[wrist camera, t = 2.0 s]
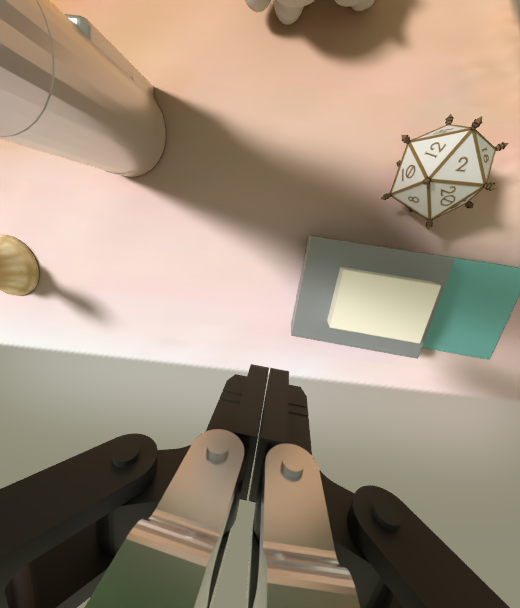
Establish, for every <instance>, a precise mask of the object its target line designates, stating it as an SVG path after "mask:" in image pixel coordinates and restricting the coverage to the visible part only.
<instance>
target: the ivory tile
mask: <svg viewBox="0 0 520 608" xmlns="http://www.w3.org/2000/svg"><path fill="white" fill-rule="evenodd" d="M440 288H441V285H438V284H436V283H433V282H431V281H426V280H419V279H413V278H407V277H401V276H395V275H388V274H382V273H376V272H370V271H364V270H357V269H351V268H345V267H340V269H339V274H338V278H337V282H336V286H335V290H334V294H333V299H332V303H331V307H330V311H329V315H328V319H327V322H328V324H329V327H330V328H336V329H341V330H347V331H352V332H358V333H364V334H369V335H375V336H380V337H386V338H392V339H397V340H403V341H408V342H414V343H420V342H421V339H422V337H423V334H424V331H425V328H426V326H427V323H428V320H429V318H430V315H431V312H432V309H433V307H434V304H435V301H436V299H437V296H438V293H439V290H440Z"/></svg>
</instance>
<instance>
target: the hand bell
mask: <svg viewBox="0 0 520 608" xmlns="http://www.w3.org/2000/svg"><path fill="white" fill-rule="evenodd" d="M38 279H39V269H38V264H37V262H36V259H35V257H34V256H33V254H32V252H31V251H30V250H29V248H28V247H27V246H26V245H25V244H24V243H22V242H21V241H20V240H18V239H16V238H14V237H12V236H8V235H0V290H1V291H3V292H5V293H8V294H11V295H19V296H21V295H26V294H28V293H30V292H31V291H33V290H34V289H35V287H36V285H37V283H38Z"/></svg>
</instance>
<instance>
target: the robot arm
mask: <svg viewBox="0 0 520 608" xmlns="http://www.w3.org/2000/svg"><path fill="white" fill-rule="evenodd" d="M0 139H2V140H6V141H9V142H12V143H16V144H19V145H22V146H26V147H29V148H32V149H36V150H39V151H42V152H46V153H49V154H52V155H56V156H59V157H62V158H66V159H69V160H72V161H75V162H79V163H82V164H85V165H89V166H92V167H95V168H99V169H102V170H105V171H108V172H111V173H115V174H119V175H123V176H128V177H135V176H140V175H143V174H145V173H147V172H149V171H150V170H151V169H152V168H153V167H154V166H155V165H156V164H157V163H158V161H159V160H160V158H161V155H162V153H163V151H164V146H165V141H166V129H165V123H164V119H163V116H162V113H161V110H160V108H159V107H158V105H157V103H156V101H155V99H154V88H153V86H152V84H151V83H150V82H149V81H148V80H147V79H146V78H145V77H144V76H143V75H142V74H141V73H140V72H139V71H138V70H137V69H136V68H135V67H134V66H133V65H132V64H131V63H130V62H129V61H128V60H127V59H126V58H125V57H124V56H123V55H122V54H121V53H120V52H119V51H118V50H117V49H116V48H115V47H114V46H113V45H112V44H111V43H110V42H109V41H108V40H107V39H106V38H105V37H104V36H103V35H102V34H101V33H100V32H99V31H98V30H97V29H96V28H95V27H94V26H93V25H92V24H91V23H90V22H89V21H88V20H87V19H86V18H84V17H81V16H77V15H67V14H63V13H62V12H61V11H60V10H59V9H58V8H57V7H56V6H55V5H54V4H52V3H51V2H50V1H49V0H0ZM268 370H269V368H268V367H263V366H258V365H252V364H251V366H250V369H249V373H248V376H247V377H246V376H241V375H234V376H233V377H231V378H230V379H229V380H228V381H227V382H226V384H225V387H224V389H223V392H222V394H221V397H220V400H219V401H218V403H217V406H216V408H215V411H214V413H213V415H212V418H211V420H210V423H209V425H208V427H207V430H206V432H204V433H202V434H200V435H199V436H198V437H197V438H196V439H195V440H194V442H193V443H192V445H189V446H187V447H184V448H179V449H169V450H157V446H156V444H155V442H154V441H153V440H152V439H151V438H150V437H148V436H146V435H142V434H127V435H123V436H120V437H117V438H115V439H112V440H110V441H108V442H106V443H103V444H101V445H99V446H97V447H94V448H92V449H90V450H88V451H85V452H83V453H81V454H79V455H77V456H74V457H72V458H70V459H67V460H65V461H63V462H61V463H58V464H56V465H54V466H51V467H49V468H47V469H45V470H43V471H40V472H38V473H36V474H33V475H31V476H29V477H27V478H24V479H23V480H20V481H18V482H16V483H13V484H11V485H9V486H6V487H4V488H2V489H0V608H77V607H78V606H79V605H80V604H82V603H83V602H85V601H86V600H87V599H88V598H89V597H90V599H89V600H88V602H87V604H86V605H85V607H84V608H211V606H212V602H213V598H214V594H215V591H216V587H217V583H218V579H219V576H220V572H221V568H222V565H223V561H224V557H225V553H226V550H227V546H228V542H229V538H230V534H231V531H232V526H233V524H234V522H235V520H236V516H237V511H238V506H239V500H240V499H242V500H247V494H248V489H249V483H250V478H251V472H252V466H253V461H254V455H255V450H256V443H257V439H258V433H259V427H260V433H259V439H258V445H257V451H256V458H255V465H254V470H253V477H252V484H251V490H250V496H249V501H251V502H256V506H255V513H254V521H253V525H252V531H251V538H250V554H249V569H248V583H247V598H246V608H510V607H509V606H507V604H506V603H505V602H503V600H501V599H500V598H499V597H498V596H497V595H496V594H495V593H494V592H493V591H492V590H491V589H490V588H489V587H488V586H487V585H486V584H485V583H484V582H483V581H482V580H481V579H480V578H479V577H478V576H477V575H476V574H475V573H474V572H473V571H472V570H471V569H470V568H469V567H468V566H467V565H466V564H465V563H464V562H463V561H462V560H461V559H460V558H459V557H458V556H457V555H456V554H455V553H454V552H453V551H452V550H451V549H450V548H449V547H448V546H447V545H445V543H444V542H443V541H442V540H441V539H440V538H439V537H438V536H436V535H435V534H434V533H433V532H432V531H431V530H430V529H429V528H428V527H427V526H426V525H425V524H424V523H423V522H422V521H421V520H420V519H419V518H418V517H417V516H416V515H415V514H414V513H413V512H412V511H411V510H410V509H409V508H408V507H407V506H406V505H405V504H404V503H403V502H402V501H401V500H400V499H399V498H397V497H396V496H395V495H393V494H392V493H390V492H389V491H387V490H385V489H383V488H380V487H376V486H363V487H361V488H359V489H358V490H357V491H356V493H355V494H354V493H352V492H350V491H348V490H347V489H344V488H343V487H341V486H339V485H337V484H336V483H334V482H332V481H331V480H329V479H328V478H327V477H326V476H325V475H323V473H322V472H321V471H320V470H319V468H318V465H317V462H316V461H315V459H314V458H313V457H312V452H311V441H310V430H309V419H308V409H307V396H306V395H305V393H304V392H303V390H302V389H301V387H298V386H293V385H289V371H284V370H279V369H274V368H270V374H269V379H268V385H267V390H266V396H265V401H264V395H265V389H266V383H267V377H268ZM263 402H264V408H263ZM262 408H263V413H262ZM261 414H262V420H261ZM260 420H261V426H260Z"/></svg>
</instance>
